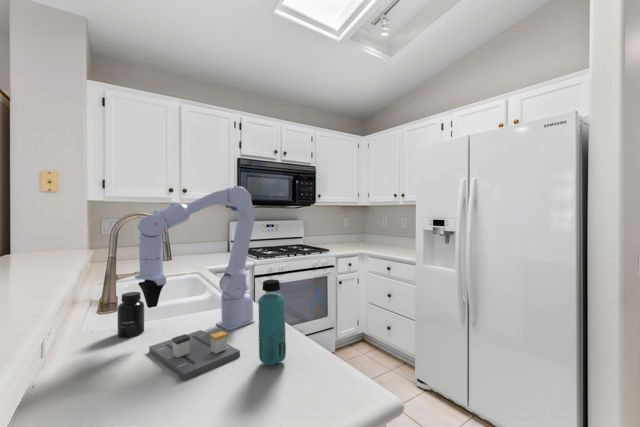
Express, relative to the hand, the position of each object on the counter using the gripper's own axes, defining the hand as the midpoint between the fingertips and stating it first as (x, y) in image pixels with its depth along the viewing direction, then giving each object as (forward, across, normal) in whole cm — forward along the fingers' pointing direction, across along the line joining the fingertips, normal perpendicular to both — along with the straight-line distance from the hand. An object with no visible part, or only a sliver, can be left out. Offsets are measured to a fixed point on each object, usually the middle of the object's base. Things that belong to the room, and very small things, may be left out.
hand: (152, 306), depth 84 cm
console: (+10, +16, +4) cm, 19 cm away
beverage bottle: (+10, +35, +14) cm, 39 cm away
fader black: (+8, +17, 0) cm, 19 cm away
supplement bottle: (+10, -11, -2) cm, 15 cm away
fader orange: (+8, +22, +8) cm, 25 cm away
